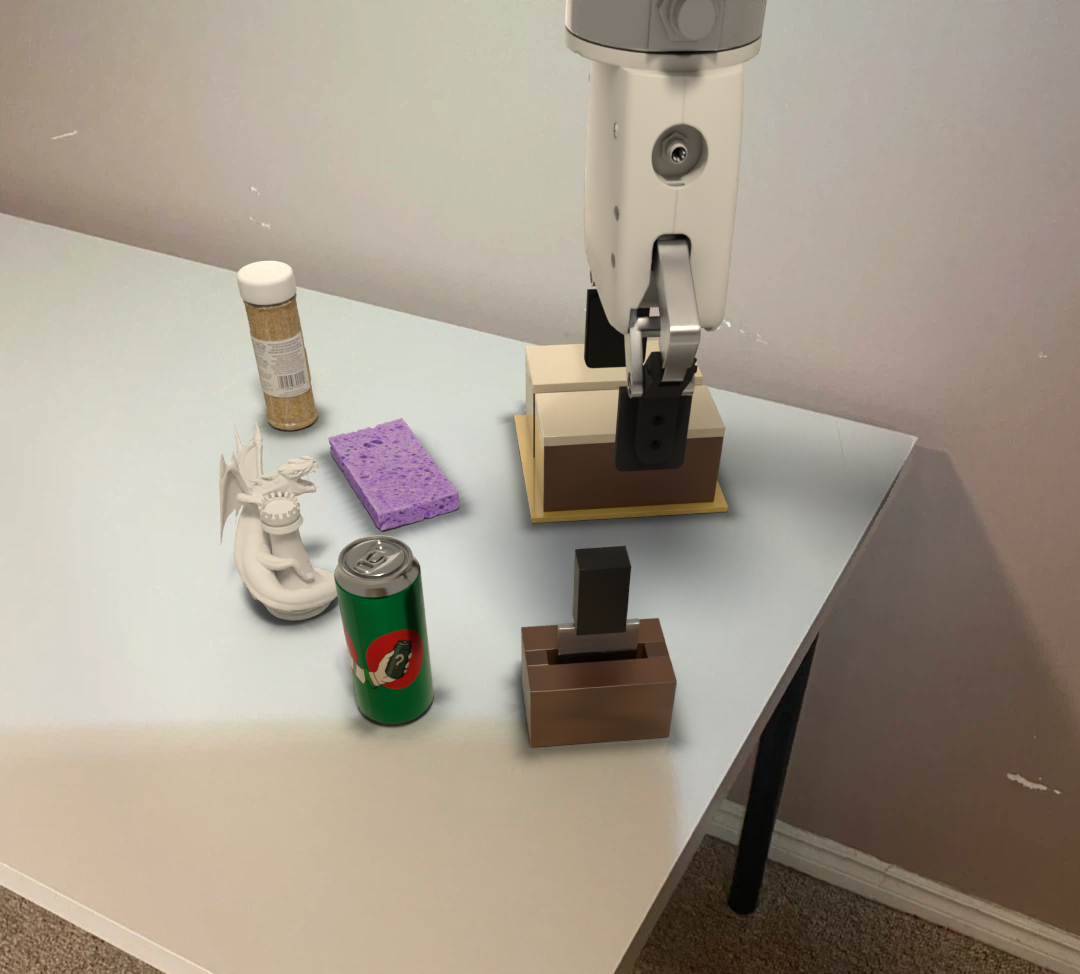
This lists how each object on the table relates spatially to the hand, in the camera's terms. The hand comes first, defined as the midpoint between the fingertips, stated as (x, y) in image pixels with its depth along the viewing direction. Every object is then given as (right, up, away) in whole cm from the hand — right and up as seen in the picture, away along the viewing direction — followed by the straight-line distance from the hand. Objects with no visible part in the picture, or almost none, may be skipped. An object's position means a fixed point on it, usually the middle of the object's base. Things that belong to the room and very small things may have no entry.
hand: (629, 412), depth 51 cm
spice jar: (-27, +12, +42) cm, 51 cm away
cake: (+2, +7, +37) cm, 38 cm away
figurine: (-23, -5, +25) cm, 35 cm away
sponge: (-17, +5, +35) cm, 39 cm away
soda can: (-14, -14, +17) cm, 26 cm away
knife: (-1, -15, +17) cm, 22 cm away
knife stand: (-1, -15, +17) cm, 22 cm away
